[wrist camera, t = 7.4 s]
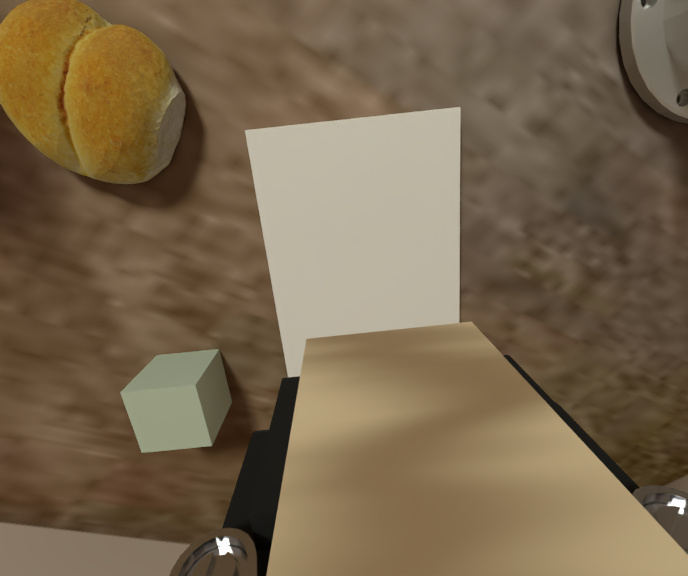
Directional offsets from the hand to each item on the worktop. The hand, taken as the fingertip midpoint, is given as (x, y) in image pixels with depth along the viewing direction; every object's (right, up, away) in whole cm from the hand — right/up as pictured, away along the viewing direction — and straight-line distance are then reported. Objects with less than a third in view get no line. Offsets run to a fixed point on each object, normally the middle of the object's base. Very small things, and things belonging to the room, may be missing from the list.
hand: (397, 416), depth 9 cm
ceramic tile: (0, +5, +14) cm, 14 cm away
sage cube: (-12, -3, +16) cm, 21 cm away
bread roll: (-15, +14, +11) cm, 23 cm away
